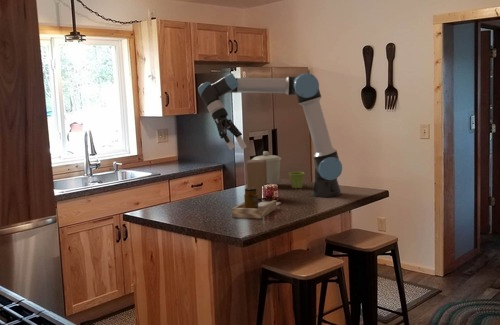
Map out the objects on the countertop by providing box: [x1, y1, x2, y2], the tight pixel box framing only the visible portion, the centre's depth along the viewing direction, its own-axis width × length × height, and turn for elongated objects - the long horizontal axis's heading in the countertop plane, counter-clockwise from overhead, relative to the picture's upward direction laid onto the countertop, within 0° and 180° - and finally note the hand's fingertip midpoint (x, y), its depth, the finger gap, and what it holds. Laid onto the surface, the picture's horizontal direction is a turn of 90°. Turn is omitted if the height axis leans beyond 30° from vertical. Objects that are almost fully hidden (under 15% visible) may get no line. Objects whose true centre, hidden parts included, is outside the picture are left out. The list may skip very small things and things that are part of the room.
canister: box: [250, 150, 282, 185], centre depth 311 cm, size 18×18×21 cm
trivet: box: [258, 201, 282, 208], centre depth 257 cm, size 10×10×1 cm
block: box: [245, 159, 267, 200], centre depth 276 cm, size 10×10×20 cm
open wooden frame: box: [231, 199, 277, 219], centre depth 242 cm, size 14×20×4 cm
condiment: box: [244, 187, 259, 209], centre depth 238 cm, size 7×8×12 cm
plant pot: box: [288, 171, 305, 189], centre depth 300 cm, size 9×9×9 cm
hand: (238, 148), depth 251 cm, fingers open, 13 cm apart
